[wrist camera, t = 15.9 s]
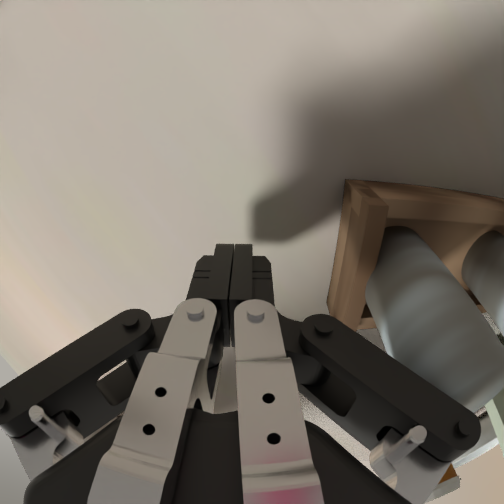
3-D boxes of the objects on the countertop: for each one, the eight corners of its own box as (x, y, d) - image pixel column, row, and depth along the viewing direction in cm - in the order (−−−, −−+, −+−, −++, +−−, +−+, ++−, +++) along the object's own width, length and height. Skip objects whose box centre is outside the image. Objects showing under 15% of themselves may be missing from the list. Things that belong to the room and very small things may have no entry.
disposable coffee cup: (405, 429, 28) (423, 503, 17) (455, 414, 28) (475, 479, 18) (377, 452, 33) (388, 515, 22) (424, 440, 33) (438, 497, 23)
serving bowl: (459, 419, 30) (470, 452, 24) (531, 380, 28) (543, 405, 23) (418, 457, 41) (424, 482, 35) (486, 427, 39) (494, 448, 33)
